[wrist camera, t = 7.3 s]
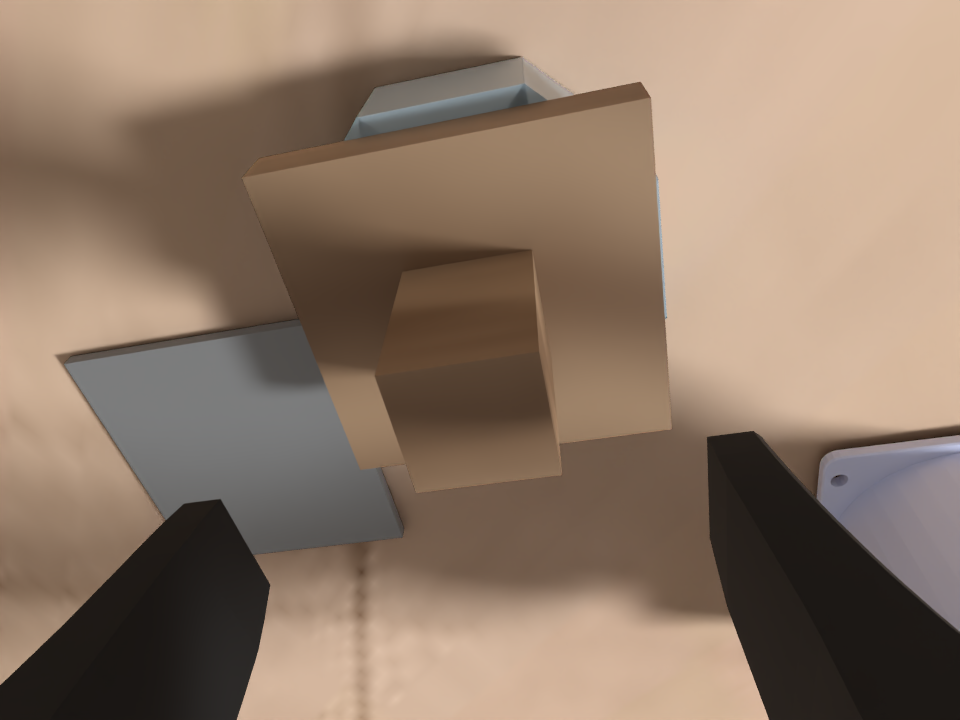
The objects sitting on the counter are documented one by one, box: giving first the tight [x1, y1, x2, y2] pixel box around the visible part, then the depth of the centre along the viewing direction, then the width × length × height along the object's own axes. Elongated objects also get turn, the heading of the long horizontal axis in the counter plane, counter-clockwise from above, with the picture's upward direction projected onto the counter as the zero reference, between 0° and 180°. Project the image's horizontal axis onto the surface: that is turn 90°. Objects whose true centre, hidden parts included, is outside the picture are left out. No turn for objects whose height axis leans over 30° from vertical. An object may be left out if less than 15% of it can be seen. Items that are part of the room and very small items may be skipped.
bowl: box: [344, 57, 667, 319], centre depth 17 cm, size 8×8×2 cm
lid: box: [242, 82, 672, 493], centre depth 14 cm, size 8×8×5 cm
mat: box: [64, 319, 404, 555], centre depth 23 cm, size 9×8×1 cm
